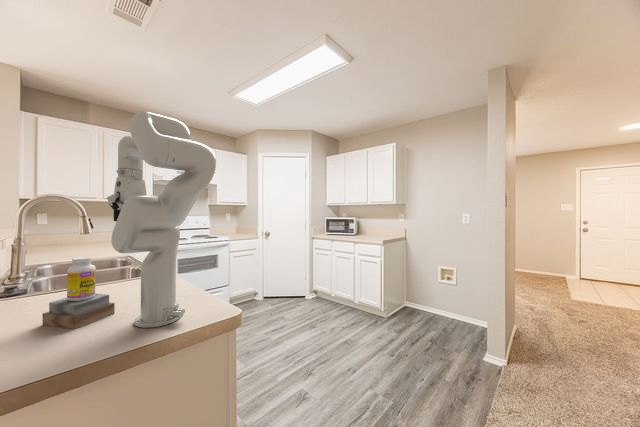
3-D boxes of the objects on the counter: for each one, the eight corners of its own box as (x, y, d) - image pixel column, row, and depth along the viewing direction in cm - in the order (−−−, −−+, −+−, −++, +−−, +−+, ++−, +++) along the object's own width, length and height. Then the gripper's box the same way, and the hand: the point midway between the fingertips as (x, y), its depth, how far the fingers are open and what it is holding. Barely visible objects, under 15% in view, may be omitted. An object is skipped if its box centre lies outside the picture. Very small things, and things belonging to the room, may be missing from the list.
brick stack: (114, 313, 88) (114, 294, 88) (74, 329, 76) (74, 306, 76) (85, 310, 90) (85, 291, 90) (42, 325, 78) (42, 303, 78)
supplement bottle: (78, 302, 79) (78, 260, 79) (61, 301, 80) (61, 259, 80) (100, 295, 86) (101, 256, 86) (84, 294, 87) (84, 255, 87)
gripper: (118, 171, 88) (117, 222, 89) (157, 177, 106) (156, 220, 106) (99, 171, 90) (98, 221, 90) (140, 177, 107) (140, 219, 107)
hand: (130, 220), depth 98 cm, fingers open, 9 cm apart
